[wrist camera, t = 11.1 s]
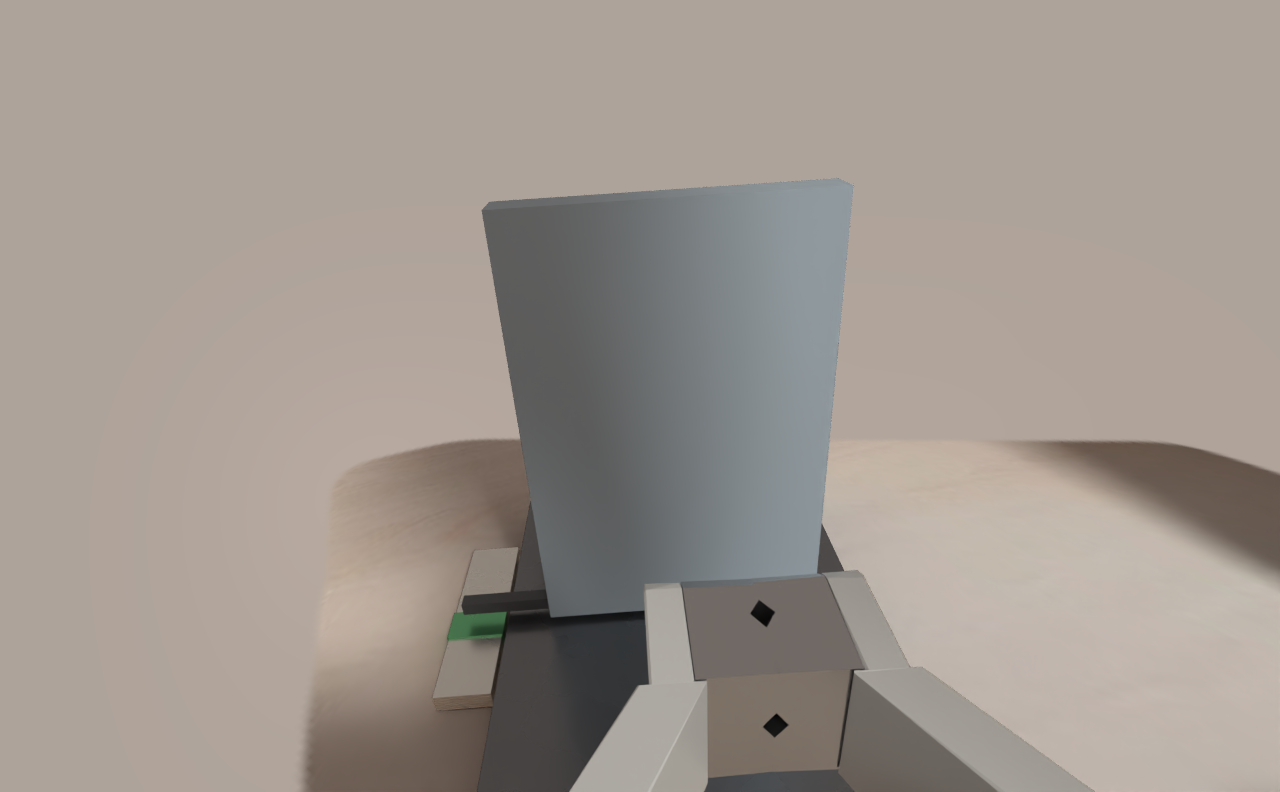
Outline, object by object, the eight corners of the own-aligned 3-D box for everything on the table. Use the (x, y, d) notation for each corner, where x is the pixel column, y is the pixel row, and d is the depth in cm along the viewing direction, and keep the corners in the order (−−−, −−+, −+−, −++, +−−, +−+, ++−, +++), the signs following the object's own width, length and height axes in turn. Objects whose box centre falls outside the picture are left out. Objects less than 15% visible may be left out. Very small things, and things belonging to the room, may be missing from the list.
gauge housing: (800, 497, 37) (807, 409, 35) (943, 813, 21) (976, 696, 19) (486, 521, 37) (468, 434, 34) (394, 857, 21) (346, 745, 18)
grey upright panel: (805, 573, 30) (838, 178, 22) (814, 597, 28) (853, 185, 20) (468, 599, 30) (372, 209, 21) (462, 624, 28) (356, 219, 20)
